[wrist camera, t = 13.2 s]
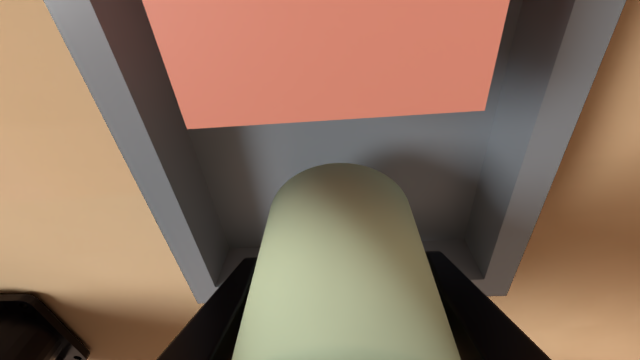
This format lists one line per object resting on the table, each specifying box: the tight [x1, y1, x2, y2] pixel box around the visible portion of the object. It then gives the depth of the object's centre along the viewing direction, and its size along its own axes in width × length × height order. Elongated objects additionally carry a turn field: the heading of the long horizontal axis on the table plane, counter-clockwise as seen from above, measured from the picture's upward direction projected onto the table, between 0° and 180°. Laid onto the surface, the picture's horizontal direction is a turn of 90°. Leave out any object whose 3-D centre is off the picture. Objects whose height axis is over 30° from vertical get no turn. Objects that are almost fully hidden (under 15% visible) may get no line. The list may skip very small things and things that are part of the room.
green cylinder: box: [232, 163, 461, 360], centre depth 8 cm, size 4×4×5 cm
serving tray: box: [43, 0, 626, 304], centre depth 9 cm, size 15×12×3 cm
